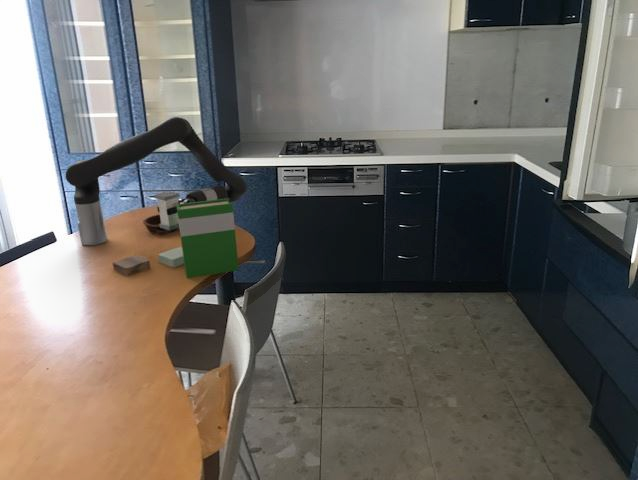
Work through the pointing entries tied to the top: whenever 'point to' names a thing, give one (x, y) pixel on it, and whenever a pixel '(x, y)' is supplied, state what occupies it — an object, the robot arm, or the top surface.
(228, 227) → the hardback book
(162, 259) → the green stand
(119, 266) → the walnut stand
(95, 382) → the top surface
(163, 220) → the grey square pedestal
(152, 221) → the dish
